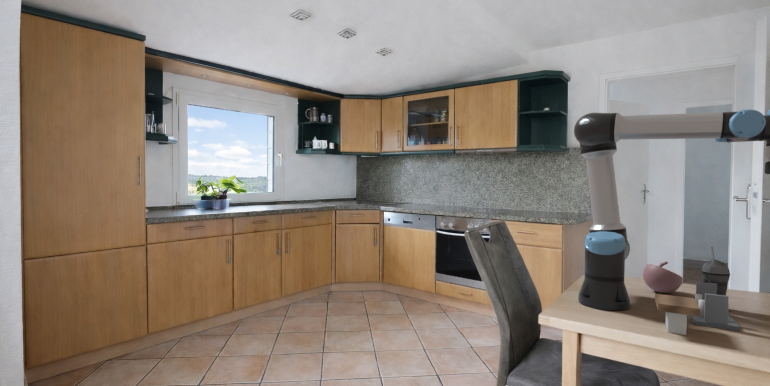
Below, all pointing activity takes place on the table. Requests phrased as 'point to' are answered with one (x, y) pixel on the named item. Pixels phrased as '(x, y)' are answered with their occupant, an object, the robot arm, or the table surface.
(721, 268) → the beverage cup
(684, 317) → the grey rectangular block
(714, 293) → the cradle
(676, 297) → the board
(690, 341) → the table surface
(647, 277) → the mortar and pestle
